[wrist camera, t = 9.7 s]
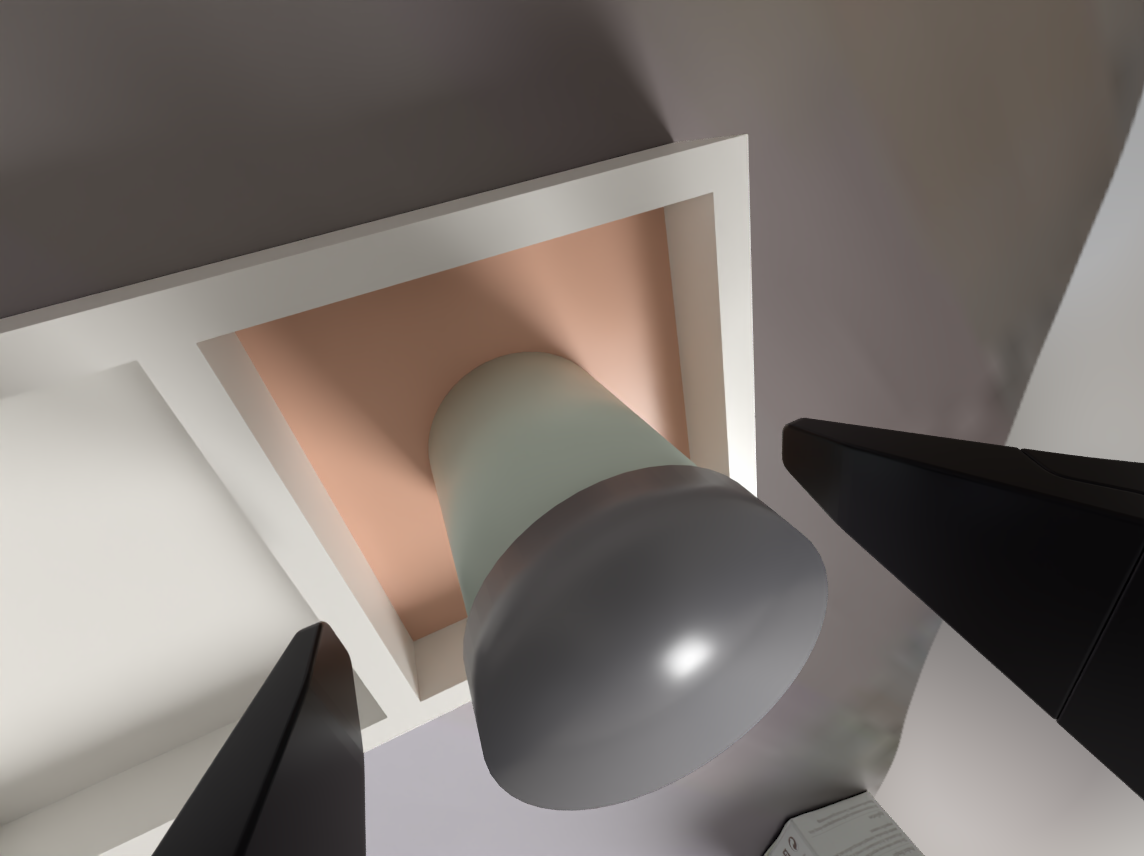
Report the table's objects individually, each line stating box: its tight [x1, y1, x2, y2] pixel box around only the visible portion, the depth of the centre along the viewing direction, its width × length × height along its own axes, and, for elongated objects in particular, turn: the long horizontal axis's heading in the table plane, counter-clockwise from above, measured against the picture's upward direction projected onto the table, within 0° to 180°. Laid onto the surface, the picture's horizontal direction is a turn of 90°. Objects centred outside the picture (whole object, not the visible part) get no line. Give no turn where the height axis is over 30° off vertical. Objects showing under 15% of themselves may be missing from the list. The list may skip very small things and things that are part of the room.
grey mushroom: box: [428, 352, 828, 810], centre depth 9 cm, size 5×5×7 cm
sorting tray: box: [0, 134, 757, 856], centre depth 11 cm, size 20×11×2 cm, turn 102°
